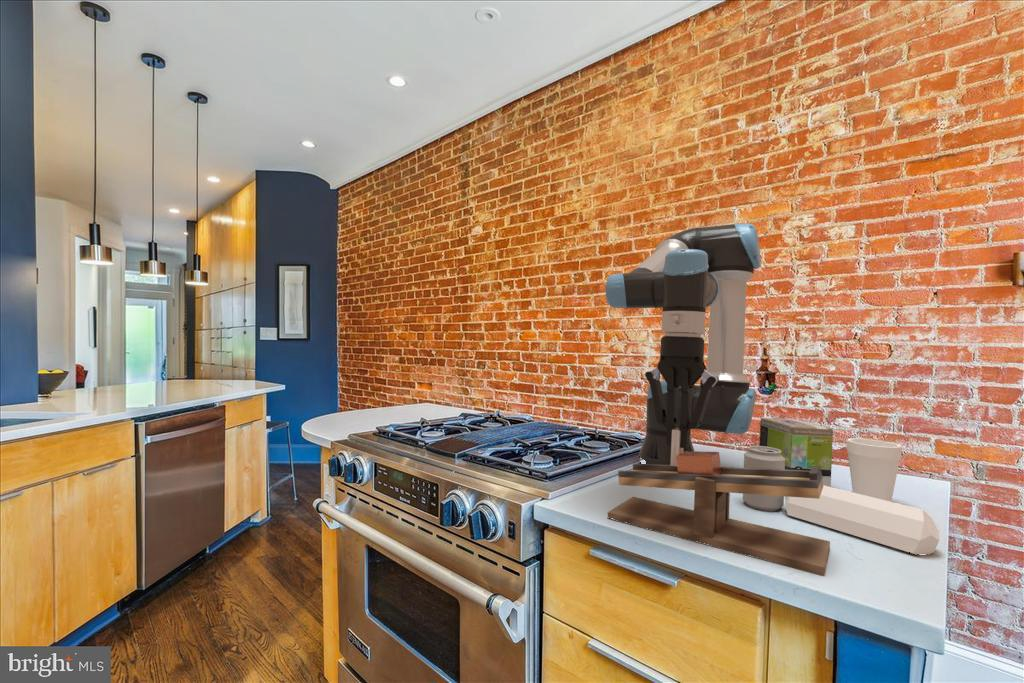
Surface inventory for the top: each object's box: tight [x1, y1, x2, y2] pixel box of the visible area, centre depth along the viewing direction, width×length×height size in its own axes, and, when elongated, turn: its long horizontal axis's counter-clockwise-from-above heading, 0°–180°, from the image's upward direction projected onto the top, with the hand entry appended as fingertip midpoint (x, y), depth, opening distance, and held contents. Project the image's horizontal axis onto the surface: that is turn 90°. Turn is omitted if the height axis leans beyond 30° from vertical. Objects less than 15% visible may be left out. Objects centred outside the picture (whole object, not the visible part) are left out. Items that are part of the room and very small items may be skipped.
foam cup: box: [846, 437, 903, 502], centre depth 104 cm, size 10×9×13 cm
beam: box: [617, 463, 823, 499], centre depth 85 cm, size 32×8×4 cm, turn 54°
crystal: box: [784, 485, 940, 556], centre depth 87 cm, size 7×7×24 cm
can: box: [742, 445, 785, 512], centre depth 100 cm, size 8×8×12 cm
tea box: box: [759, 417, 834, 487], centre depth 119 cm, size 15×10×15 cm
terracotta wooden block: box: [676, 450, 722, 475], centre depth 86 cm, size 6×5×4 cm
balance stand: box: [607, 465, 831, 577], centre depth 85 cm, size 34×12×10 cm, turn 53°
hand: (676, 464), depth 88 cm, fingers closed
